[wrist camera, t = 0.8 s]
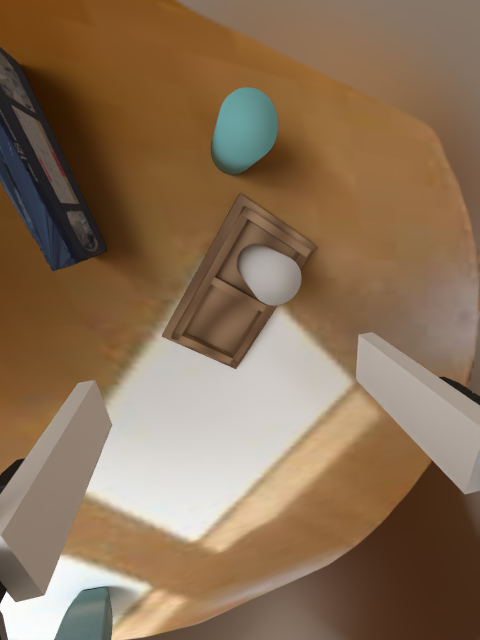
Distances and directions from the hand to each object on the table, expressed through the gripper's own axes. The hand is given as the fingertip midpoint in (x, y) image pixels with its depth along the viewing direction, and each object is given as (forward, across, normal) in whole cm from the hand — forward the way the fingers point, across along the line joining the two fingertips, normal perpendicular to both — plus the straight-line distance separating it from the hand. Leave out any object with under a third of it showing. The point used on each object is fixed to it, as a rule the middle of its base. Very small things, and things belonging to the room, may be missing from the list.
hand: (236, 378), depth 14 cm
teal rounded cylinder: (+25, +4, +14) cm, 29 cm away
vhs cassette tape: (+25, -15, +14) cm, 32 cm away
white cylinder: (+24, +6, +1) cm, 24 cm away
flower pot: (+25, -34, -64) cm, 77 cm away
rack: (+25, +3, -3) cm, 25 cm away
